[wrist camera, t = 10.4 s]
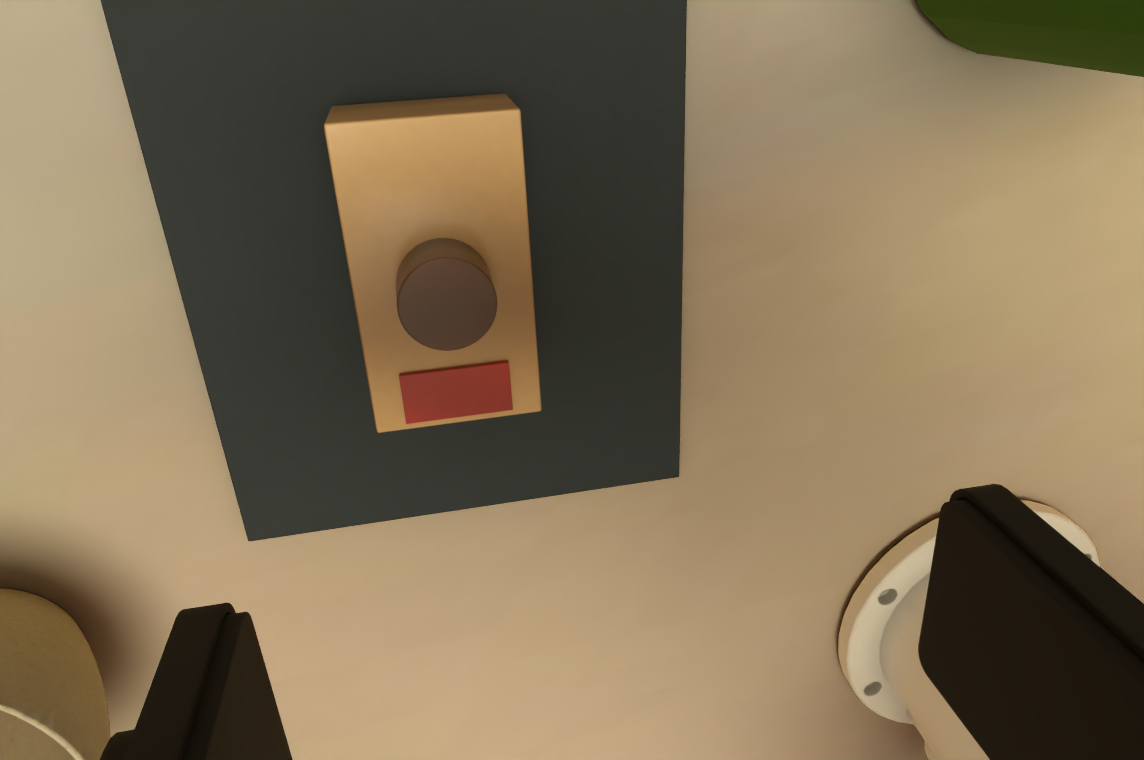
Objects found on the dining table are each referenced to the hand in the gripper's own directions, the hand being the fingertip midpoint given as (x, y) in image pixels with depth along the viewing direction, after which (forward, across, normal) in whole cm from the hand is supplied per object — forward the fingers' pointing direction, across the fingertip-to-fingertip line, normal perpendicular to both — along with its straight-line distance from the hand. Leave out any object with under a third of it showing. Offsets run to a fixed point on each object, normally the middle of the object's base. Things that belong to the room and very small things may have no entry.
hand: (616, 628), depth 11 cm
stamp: (+18, +2, 0) cm, 18 cm away
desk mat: (+18, +2, 0) cm, 18 cm away
